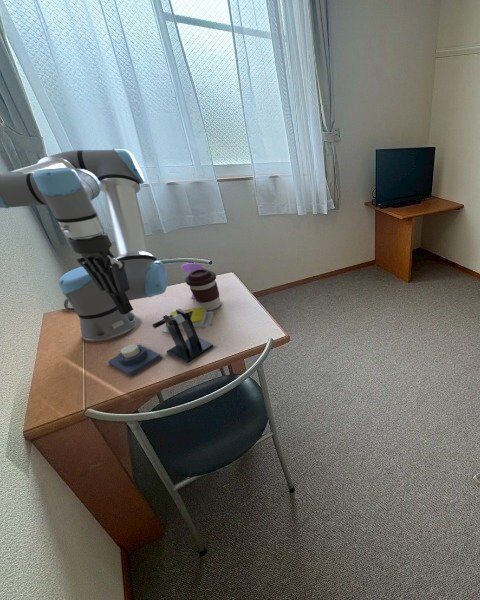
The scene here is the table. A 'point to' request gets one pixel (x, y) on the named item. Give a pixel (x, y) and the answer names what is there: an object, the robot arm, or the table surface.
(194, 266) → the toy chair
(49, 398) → the table surface
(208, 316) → the yellow grey flat box
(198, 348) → the stand
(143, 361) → the button block
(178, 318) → the lever
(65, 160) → the robot arm
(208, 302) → the coffee cup
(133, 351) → the button
